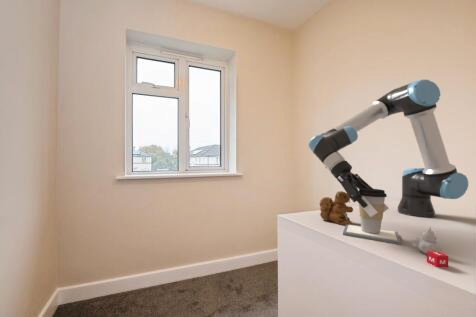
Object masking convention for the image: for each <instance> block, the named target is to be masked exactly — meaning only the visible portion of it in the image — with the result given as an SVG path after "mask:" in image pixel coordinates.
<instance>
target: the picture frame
mask: <svg viewBox="0 0 476 317" xmlns="http://www.w3.org/2000/svg"><path fill="white" fill-rule="evenodd" d="M344 226H345V227H344V229H343V232H342V235H343V236H348V237H354V238H359V239H366V240H371V241H376V242H377V241H378V242H382V243H383V242H384V243H387V244H396V245H400V246H401V245H402V241H401V237H400V235H399V233H398V232H397V231H394V230H393V231H392V230H386V229H381V228H380V233H368V232H364V231H362V229H361V225H354V224H350V225H347V224H346V225H344Z"/></svg>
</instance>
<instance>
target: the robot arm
mask: <svg viewBox="0 0 476 317" xmlns="http://www.w3.org/2000/svg"><path fill="white" fill-rule="evenodd" d="M440 97H441V90H440V88H439V86H438V84H437V83H435V82H434V81H431V80H430V79H420V80H419V79H418V80H416V81H413V82H410V83H408V84H405V85H402V86H400V87H396V88H394V89H392V90H390V91H389V92H387V93H385V94H384V95H383V96H381V97H379V98H378V99H376V100H375V101H373V102H371V105H370V106H368V107H366V108H365V109H364V110H362V111H360V112H358V113H356V114H355V115H353V116H352V117H350V118H348V119H346V120H345V121H343V122H341V123H340V124H338V125H336V126H334V127H332V128H331V129H329V130H327V131H326V132H322V133H320V134H317V135H314V136H313V137H312V138H311V139H310V141H309V142H308V148H309V149H310V151H311V152H312V154H313V155H315V156H316V157H317V158H318V160H319V161H320V162H321V163H322V164H323V165H324V168H325V169H327V170H328V171H329V172H330V174H331V175H332V176H333V177H334V178H335V179H336V181H338V182H339V184H340V185H341V186H342V188H343V189H344V192H345V193H347V194H348V195H349V197H350V201H351V200H352V202H353V203H356V202H357V203H358V205H359V204H360V206H361V207H362V208H363V209H364V210H365V211H366V212H367V214H368V215H369V216H370V217H372V216H373V215H375V214H376V213H378V212H377V211H376V210H375V209H374V207H373V206H372V205H371V204H370V203H369V202H368V201H367V200H366V199H365V198H364V197H362V196H361V194H360V192H359V189H360V188H370V189H374V188H373V187H372V186H371V185H370V184H369V183H368V182H366V181H365V180H364V179H363V178H362V177H361V176H360V175H359V174H358V173H353V172H352V168H353V167H352V165H351V164H350V163H349V162H348V161H347V160H346V159H345V157H344V156H343V155H342V154H341V153H340V152H339V151H340V150H343V149H344V148H346V147H348V146H350V145H352V144H353V143H354V142H356V141H357V140H358V138H359V135H358V132H360V131H361V130H363V129H364V128H366V127H368V126H370V125H371V124H372V123H375V122H376V121H379V120H380V119H386V118H387V117H389V116H392V115H396V114H398V113H402V114H403V117H404V118H407V119H409V121H410V124H411V127H412V130H413V133H414V137H415V140H416V143H417V146H418V149H419V152H420V155H421V158H422V161H423V165H424V167H416V168H414V167H413V168H406V169H404V170H403V172H402V177H401V182H402V183H401V186H402V187H401V199H400V201H399V203H398V205H397V212H398V211H399V212H398V213H400V212H402V213H401V214H403V213H405V214H404V215H407V214H410V215H409V216H412V215H415V216H414V217H420V216H424V217H423V218H434V217H435V216H436V211H435V208H434V206H433V203H432V197H436V198H441V199H445V200H446V199H447V200H458V199H460V198H461V197H463V196H464V195H465V194H466V192H467V190H468V188H469V178H468V177H467V176H466V175H465V174H464V173H461V172H458V170H457V167H456V165H454V164H452V163H450V161H449V158H448V154H447V150H446V147H445V144H444V141H443V138H442V135H441V132H440V129H439V125H438V122H437V119H436V115H435V113H434V112H435V111H436V109H437V107H438V106H437V103H438V102H439V100H440V99H441V98H440ZM361 197H362V198H361ZM389 209H390V208H389V206H388V205H387V204H386V203H385V202H384V211H383V213H384V212H386V211H388V210H389Z"/></svg>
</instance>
